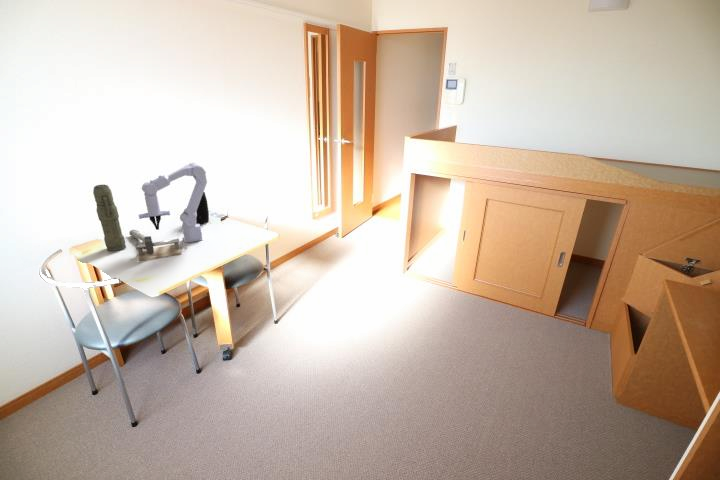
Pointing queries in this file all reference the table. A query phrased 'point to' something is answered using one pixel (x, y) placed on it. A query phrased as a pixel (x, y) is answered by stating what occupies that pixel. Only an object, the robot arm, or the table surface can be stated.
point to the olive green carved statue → (109, 218)
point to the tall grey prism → (149, 245)
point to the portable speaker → (202, 210)
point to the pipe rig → (159, 250)
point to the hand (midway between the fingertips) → (157, 229)
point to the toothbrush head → (138, 235)
